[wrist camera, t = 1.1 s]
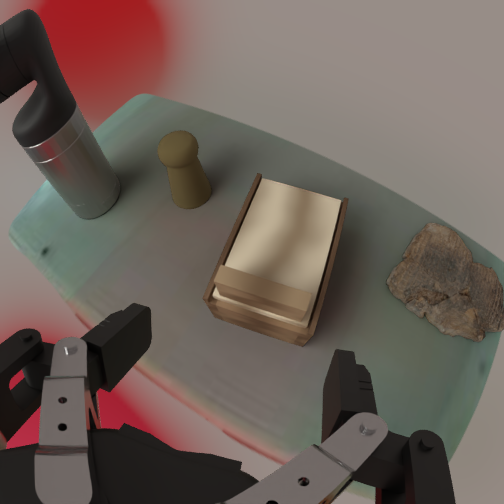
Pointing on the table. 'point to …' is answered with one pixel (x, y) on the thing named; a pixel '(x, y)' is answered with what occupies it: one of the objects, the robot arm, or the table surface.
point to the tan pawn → (184, 169)
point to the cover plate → (279, 253)
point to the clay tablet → (448, 285)
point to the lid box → (258, 320)
